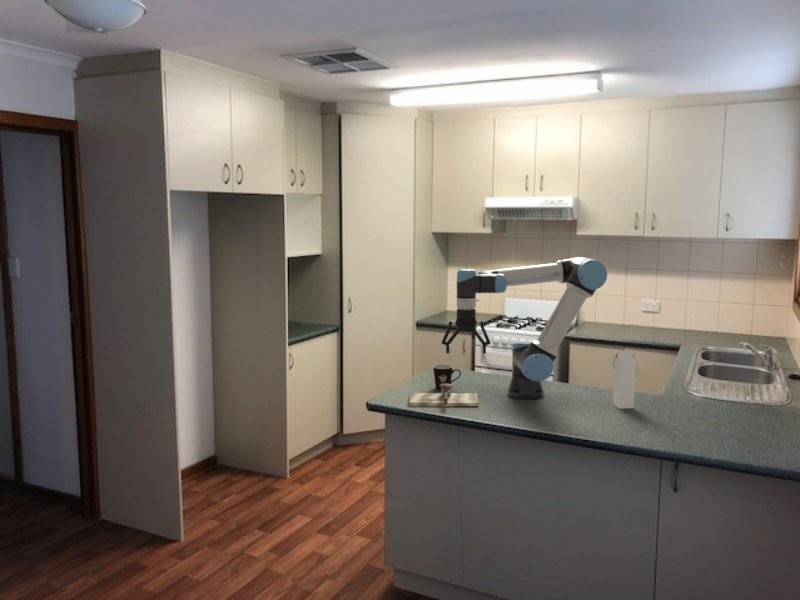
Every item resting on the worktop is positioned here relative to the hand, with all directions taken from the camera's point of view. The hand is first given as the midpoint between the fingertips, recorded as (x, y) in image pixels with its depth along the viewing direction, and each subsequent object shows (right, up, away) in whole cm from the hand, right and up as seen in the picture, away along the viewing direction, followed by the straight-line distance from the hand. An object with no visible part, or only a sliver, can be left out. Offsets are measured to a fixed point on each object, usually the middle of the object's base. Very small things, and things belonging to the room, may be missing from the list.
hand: (465, 361), depth 261 cm
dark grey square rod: (-8, -16, +6) cm, 19 cm away
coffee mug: (-6, -15, +28) cm, 32 cm away
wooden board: (-8, -17, +9) cm, 21 cm away
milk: (+63, -18, 0) cm, 66 cm away
